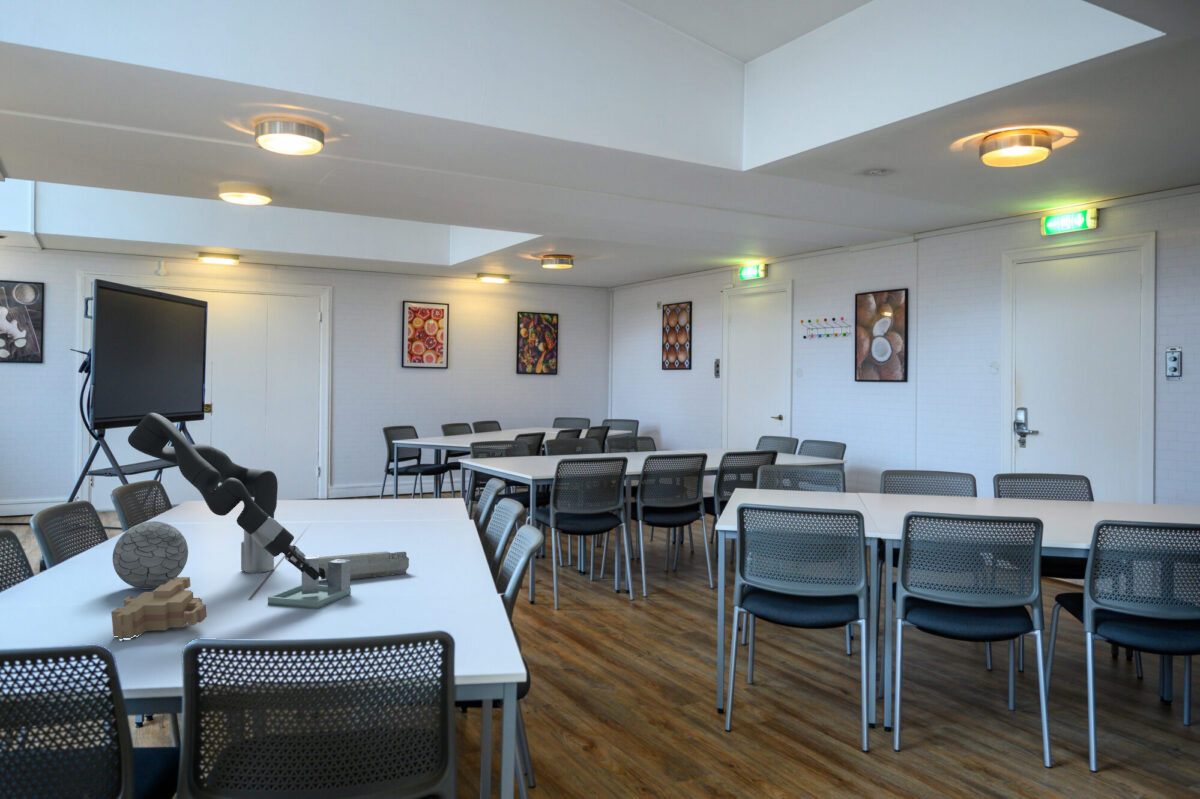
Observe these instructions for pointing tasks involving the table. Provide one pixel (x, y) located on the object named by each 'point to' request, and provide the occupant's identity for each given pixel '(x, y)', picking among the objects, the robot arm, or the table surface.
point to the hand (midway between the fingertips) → (317, 575)
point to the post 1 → (307, 582)
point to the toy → (159, 610)
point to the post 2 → (338, 575)
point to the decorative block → (369, 564)
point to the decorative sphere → (150, 554)
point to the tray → (306, 597)
